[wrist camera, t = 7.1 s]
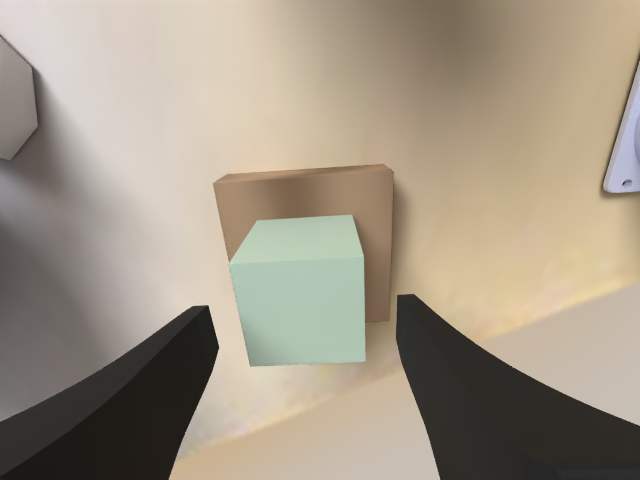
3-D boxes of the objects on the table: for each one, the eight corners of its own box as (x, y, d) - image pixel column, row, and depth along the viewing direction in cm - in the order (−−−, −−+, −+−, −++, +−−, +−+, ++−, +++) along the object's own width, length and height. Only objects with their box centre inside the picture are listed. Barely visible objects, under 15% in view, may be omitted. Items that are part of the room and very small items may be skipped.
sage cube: (352, 214, 15) (363, 256, 11) (354, 295, 17) (365, 361, 13) (256, 220, 16) (228, 264, 11) (270, 300, 17) (250, 366, 13)
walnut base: (381, 162, 17) (393, 171, 15) (379, 293, 21) (388, 320, 18) (229, 172, 18) (212, 183, 15) (252, 300, 21) (242, 328, 18)
